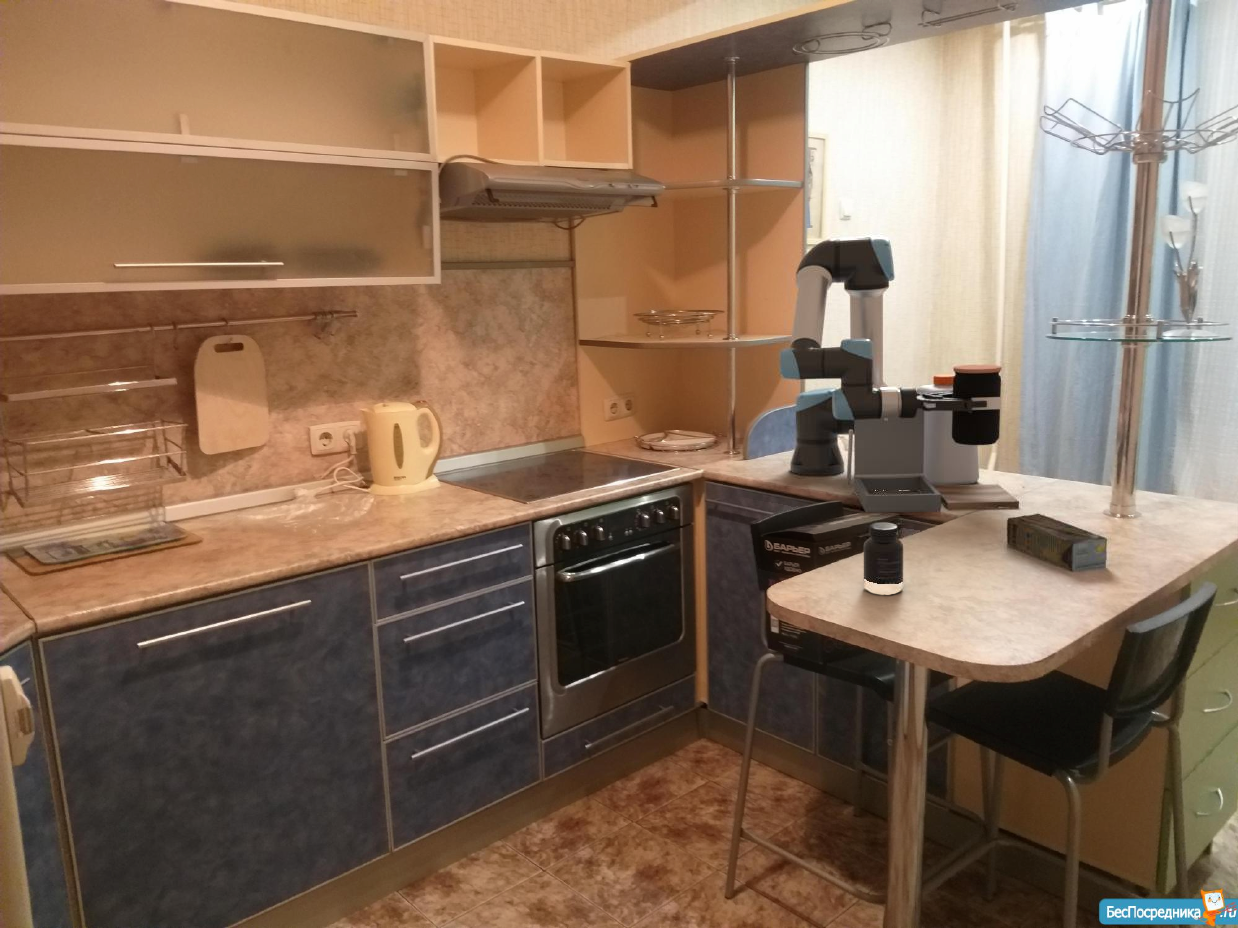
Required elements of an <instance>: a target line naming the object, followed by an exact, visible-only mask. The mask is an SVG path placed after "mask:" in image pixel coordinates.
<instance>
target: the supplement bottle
mask: <svg viewBox="0 0 1238 928" xmlns="http://www.w3.org/2000/svg"><path fill="white" fill-rule="evenodd" d="M868 530H869V531H868V536H869V538H867V539H866V540H865V541H864V543H863V580H864V579H866V580H867V581H869V582H873V583H877V584H899V583H901V582H903V583H904V545H903V542H902V541H901V540H900V539H898V538H897V537H899V532H898V531H899V529H898V525H897V524H895V523H892V522H886V521H885V522H883V521H881V522H880V521H879V522H873V523H870V524H869V529H868Z"/></svg>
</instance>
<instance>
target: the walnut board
mask: <svg viewBox="0 0 1238 928" xmlns="http://www.w3.org/2000/svg"><path fill="white" fill-rule="evenodd" d="M934 487H935V489H936V490H937V491H938V492H939V493H940V494H941V504H943V506H945V508H946V509H948V510H955V509H956V510H957V509H958V510H964V509H966V510H967V509H971V510H973V509H1000V508H999V507H1009V508H1008V509H1016V508H1017V509H1018V508H1020V501H1019V500H1018V499H1017V498H1015V497H1014V496H1013V495H1012V494H1011V493H1009V492H1008V491H1007V490H1006V489H1004V488H1003V487H1002V486H1001V485H1000V484H998V483H993V484H963V485H940V486H934Z"/></svg>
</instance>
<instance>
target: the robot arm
mask: <svg viewBox="0 0 1238 928" xmlns="http://www.w3.org/2000/svg"><path fill="white" fill-rule="evenodd" d="M893 258H894V257H893V251H892V245H891V242H890V239H889V238H888V237H886V236H883V235H881V236H880V235H878V236H877V235H868V236H867V235H866V236H853V237H844V238H828V239H825V240H823V241H820V242H819V243H817V244H816V245H813V246H812V248H810V250H809V251H808V252H807V253H806V254H805V255H803V258H802V259H801V260H800V262H799V263H798V266H797V269H796V272H795V279H794V280H795V285H796V287H797V293H796V301H795V310H794V315H793V325H792V330H791V331H792V332H791V338H790V347H788V348H782V349H781V351H780V352H779V358H778V361H779V362H778V365H779V367H778V368H779V374H780V377H781V378H782V379H785V380H797V381H799V380H820V379H821V380H825V379H826V380H830V379H832V380H833V379H835V380H836V379H837V380H838V379H839V380H840V388H837V387H826V388H825V387H824V388H819V389H812V390H808V391H807V390H806V391H804V392H801V393H799V394H798V395H797V397H796V399H795V408H794V412H795V438H796V439H795V440H796V441H795V448H794V451H793V453H792V456H791V459H790V463H789V464H790V465H789V466H790V470H791V471H792V472H791V471H790V472H791V473H793V472H794V473H793V474H795V473H798V474H797V475H800V474H802V475H801V476H810V475H814V476H815V477H817V476H818V477H820V476H822V477H823V476H832V475H837V474H841V473H843V472H845V461H844V458H843V455H842V452H841V449H840V445H839V441H838V440H839V439H838V438H839V437H838V436H839V435H843V436H846V435H848V436H849V430H853V436H854V420H863V419H883V418H884V421H888V418H897V417H898V416H899V417H900V418H914V417H915V416H916V414H917V409H918V408H920V409H922V410H924V411H967V412H968V413H972V410H986V409H1000V410H1001V409H1002V396H1001V397H986V398H971V399H957V398H953V391H951V392H939V393H922V394H920V393H918V394H917V389H916V387H914V386H900V387H899V388H897V386H892V387H891V386H889V385H888V384H887V383H886V382H885V381H884V293H885V292H886V291H887V290H888V289H889V288H890V282H892V281H894V280H895V277H896V275H895V268H894V266H895V265H894V259H893ZM835 283H836V284H841V283H842V284H843V288H844V291H845V292H846V293H847V294H848V295H849V330H850V333H849V334H850V336H849V338H846V339H845V338H843V339H842V340H841V341H840V345H839V346H835V347H822V345H823V333H824V327H825V326H824V324H825V316H826V305H827V297H828V296H827V295H828V290H830V288H831V287H832V285H833V284H835ZM965 403H966V407H965Z"/></svg>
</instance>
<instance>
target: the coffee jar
mask: <svg viewBox="0 0 1238 928" xmlns="http://www.w3.org/2000/svg"><path fill="white" fill-rule="evenodd" d="M1001 371H1002V366H1001V365H997V364H996V365H994V364H967V365H965V364H964V365H963V364H962V365H956V366H954V367H953V372H954V373H955V374H954V375H955V376H954V377H953V398H957V399H971V398H986V397H1001V398H1002V396H1001V395H1002V394H1001V393H1002V388H1001V387H1002V377H1001V375H1000V373H1001ZM965 407H966V403H965ZM1000 423H1001V409H986V410H972V413H968V412H967V411H952V438H953V440H954V441H955V443H958V444H963V445H978V446H991V445H995V444H996V443H997V441H998V440H999V438H1000V425H1001V424H1000Z"/></svg>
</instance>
